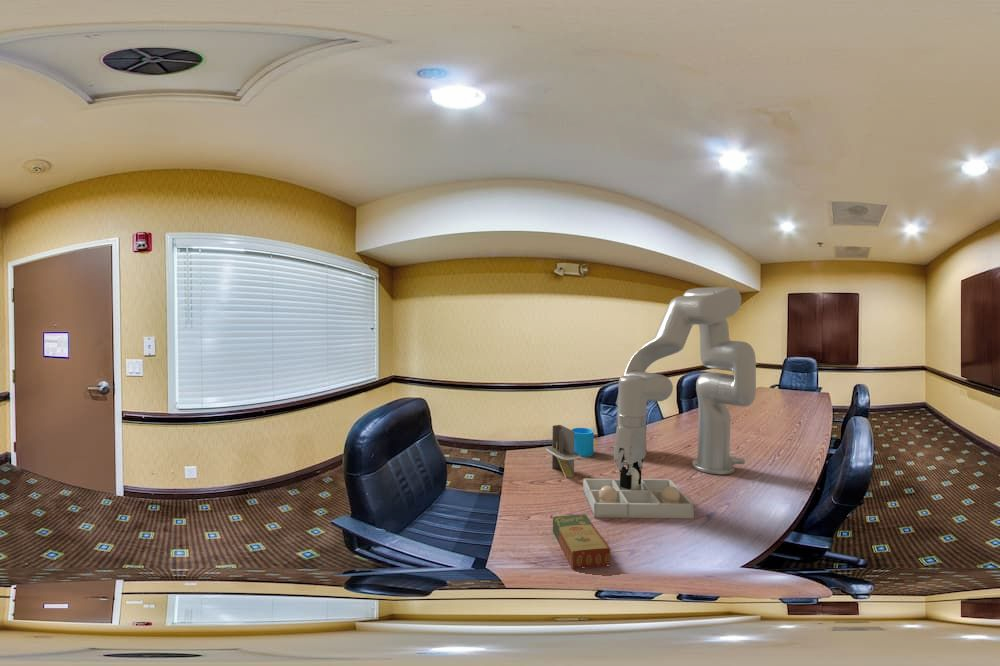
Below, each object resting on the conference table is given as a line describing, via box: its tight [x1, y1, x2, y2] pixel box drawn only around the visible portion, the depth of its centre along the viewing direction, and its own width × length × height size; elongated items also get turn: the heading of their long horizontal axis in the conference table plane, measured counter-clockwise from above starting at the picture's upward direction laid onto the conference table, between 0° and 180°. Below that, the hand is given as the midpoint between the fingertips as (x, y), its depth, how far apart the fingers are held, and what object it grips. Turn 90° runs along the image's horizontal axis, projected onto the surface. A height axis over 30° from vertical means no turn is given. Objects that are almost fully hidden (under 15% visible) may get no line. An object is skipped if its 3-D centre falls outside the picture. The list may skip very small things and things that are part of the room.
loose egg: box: [624, 466, 639, 490], centre depth 126 cm, size 5×5×6 cm
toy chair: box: [545, 424, 581, 479], centre depth 145 cm, size 20×25×15 cm
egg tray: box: [582, 478, 695, 519], centre depth 123 cm, size 25×17×4 cm
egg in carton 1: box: [599, 486, 617, 503], centre depth 118 cm, size 5×5×6 cm
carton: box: [552, 513, 611, 570], centre depth 100 cm, size 8×16×4 cm, turn 8°
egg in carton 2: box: [661, 486, 680, 504], centre depth 118 cm, size 5×5×6 cm
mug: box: [570, 427, 595, 457], centre depth 164 cm, size 12×8×8 cm
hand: (630, 484), depth 127 cm, fingers closed on loose egg, 4 cm apart
